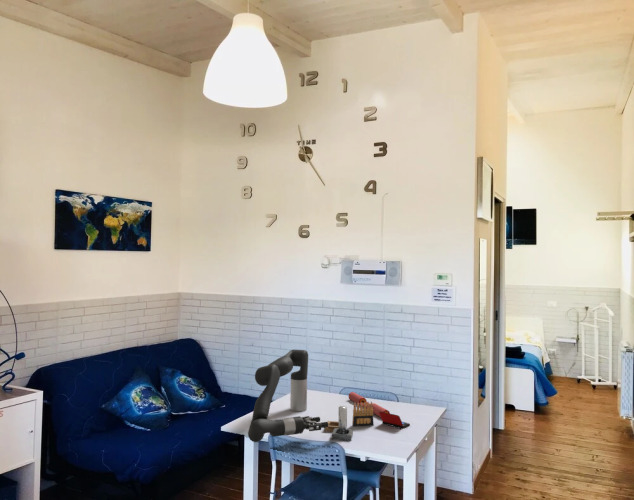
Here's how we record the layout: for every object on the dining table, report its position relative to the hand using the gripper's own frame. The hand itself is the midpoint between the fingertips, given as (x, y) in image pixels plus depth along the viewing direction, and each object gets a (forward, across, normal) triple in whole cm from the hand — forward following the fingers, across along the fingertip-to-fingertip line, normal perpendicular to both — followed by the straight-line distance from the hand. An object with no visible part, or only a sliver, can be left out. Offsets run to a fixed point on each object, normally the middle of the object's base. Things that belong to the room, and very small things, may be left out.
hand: (323, 421), depth 252 cm
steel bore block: (+10, 0, +8) cm, 13 cm away
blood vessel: (+46, +38, +9) cm, 61 cm away
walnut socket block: (+12, +12, +8) cm, 19 cm away
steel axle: (+10, 0, +8) cm, 13 cm away
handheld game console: (+43, +6, +9) cm, 44 cm away
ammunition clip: (+28, +12, +9) cm, 32 cm away
